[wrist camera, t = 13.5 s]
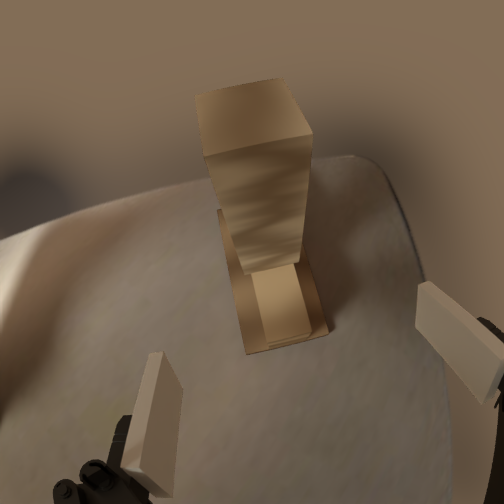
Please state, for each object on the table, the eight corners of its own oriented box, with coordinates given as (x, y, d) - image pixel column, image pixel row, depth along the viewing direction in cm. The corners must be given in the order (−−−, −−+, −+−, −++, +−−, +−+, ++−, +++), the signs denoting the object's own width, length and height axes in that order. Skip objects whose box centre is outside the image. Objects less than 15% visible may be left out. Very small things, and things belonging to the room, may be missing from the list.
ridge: (327, 335, 28) (340, 323, 22) (247, 354, 28) (237, 349, 22) (286, 198, 34) (286, 162, 28) (218, 214, 34) (206, 180, 28)
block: (244, 275, 24) (203, 156, 11) (234, 227, 26) (194, 95, 13) (299, 262, 24) (313, 133, 11) (284, 215, 26) (282, 77, 13)
